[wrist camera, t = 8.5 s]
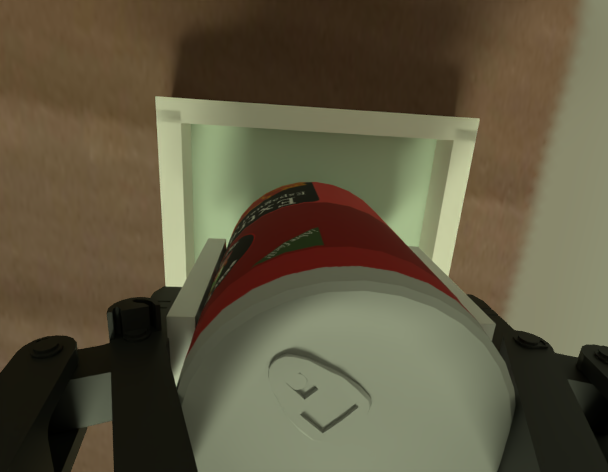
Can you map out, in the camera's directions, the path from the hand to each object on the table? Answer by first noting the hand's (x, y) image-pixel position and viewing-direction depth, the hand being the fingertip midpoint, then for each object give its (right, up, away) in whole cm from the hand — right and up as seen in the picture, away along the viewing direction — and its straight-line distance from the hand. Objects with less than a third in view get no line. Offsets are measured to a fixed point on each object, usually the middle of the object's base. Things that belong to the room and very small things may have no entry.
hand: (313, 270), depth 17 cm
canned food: (0, +1, +2) cm, 2 cm away
